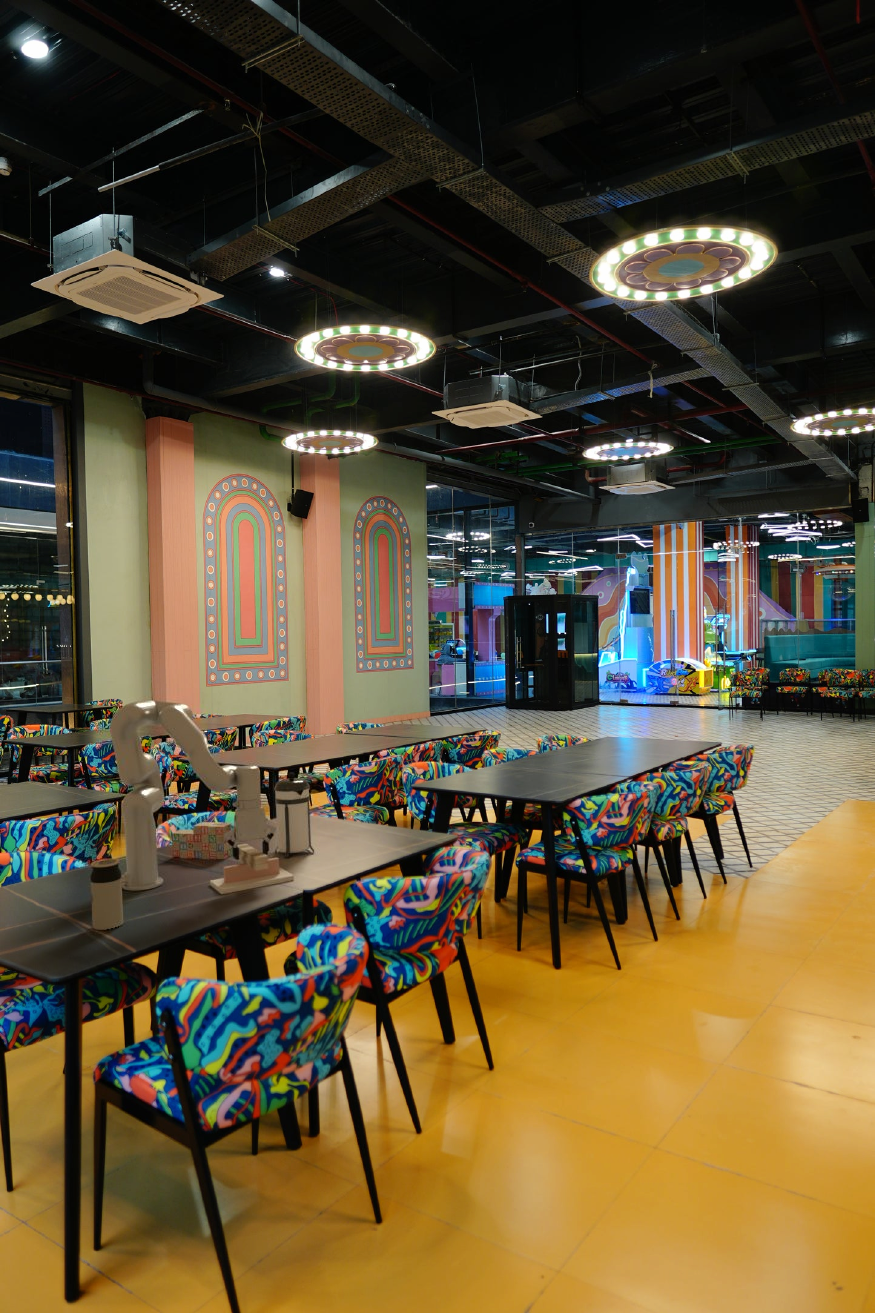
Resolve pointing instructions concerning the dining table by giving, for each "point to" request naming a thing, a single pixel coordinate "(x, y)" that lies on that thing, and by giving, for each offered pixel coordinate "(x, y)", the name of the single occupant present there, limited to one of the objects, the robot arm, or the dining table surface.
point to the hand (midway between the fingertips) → (251, 856)
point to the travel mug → (106, 894)
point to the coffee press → (293, 815)
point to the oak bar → (252, 857)
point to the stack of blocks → (202, 841)
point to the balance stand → (250, 877)
